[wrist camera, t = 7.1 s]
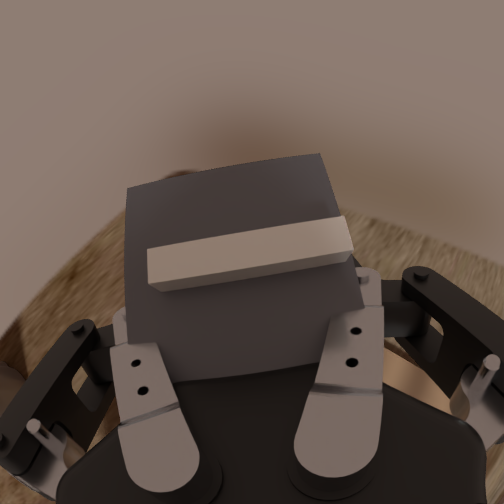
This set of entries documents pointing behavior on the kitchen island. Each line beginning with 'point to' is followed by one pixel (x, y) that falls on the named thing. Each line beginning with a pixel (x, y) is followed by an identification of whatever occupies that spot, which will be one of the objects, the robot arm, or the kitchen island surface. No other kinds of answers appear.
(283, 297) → the grey rectangular block
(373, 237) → the kitchen island surface
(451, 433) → the robot arm
